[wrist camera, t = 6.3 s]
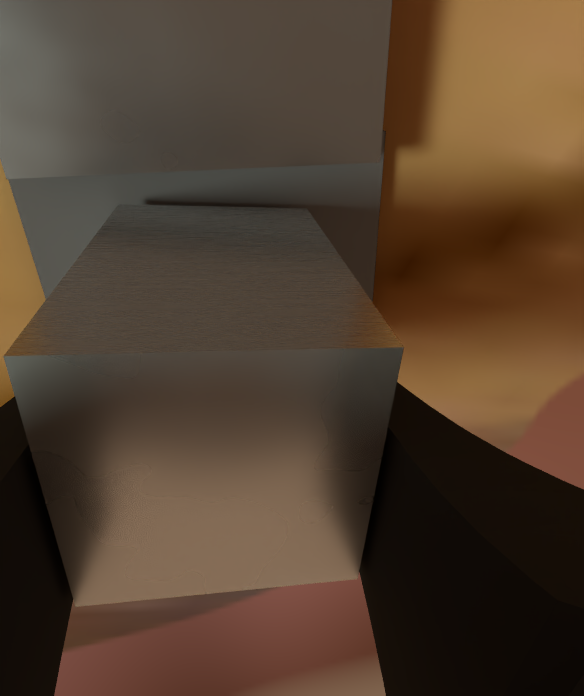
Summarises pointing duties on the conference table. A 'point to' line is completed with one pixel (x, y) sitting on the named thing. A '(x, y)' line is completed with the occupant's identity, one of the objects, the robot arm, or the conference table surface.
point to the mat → (203, 190)
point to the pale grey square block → (206, 404)
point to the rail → (190, 84)
